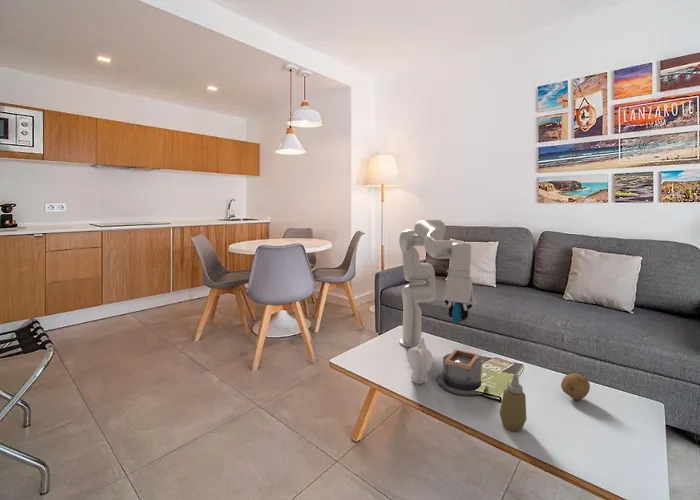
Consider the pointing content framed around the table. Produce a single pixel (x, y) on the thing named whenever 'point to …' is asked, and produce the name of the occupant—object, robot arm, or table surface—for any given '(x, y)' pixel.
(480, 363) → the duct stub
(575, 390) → the natural sponge
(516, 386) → the squeeze bottle
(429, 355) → the shell sculpture
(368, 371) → the table surface
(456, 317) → the ornament
